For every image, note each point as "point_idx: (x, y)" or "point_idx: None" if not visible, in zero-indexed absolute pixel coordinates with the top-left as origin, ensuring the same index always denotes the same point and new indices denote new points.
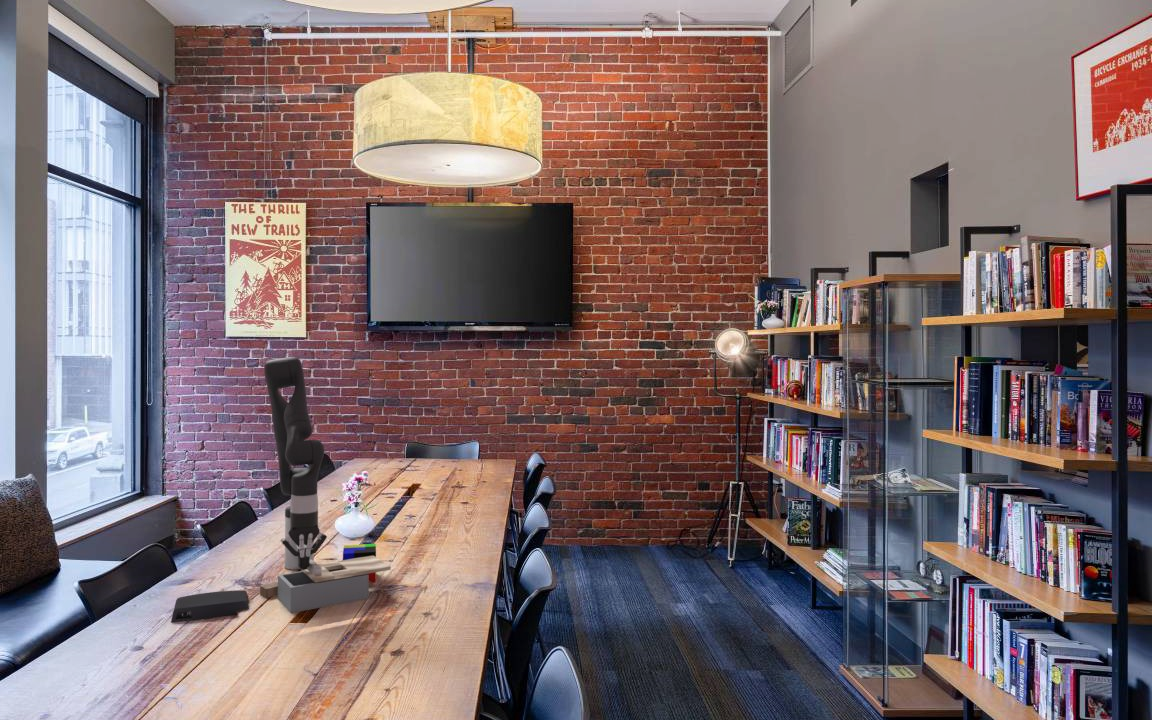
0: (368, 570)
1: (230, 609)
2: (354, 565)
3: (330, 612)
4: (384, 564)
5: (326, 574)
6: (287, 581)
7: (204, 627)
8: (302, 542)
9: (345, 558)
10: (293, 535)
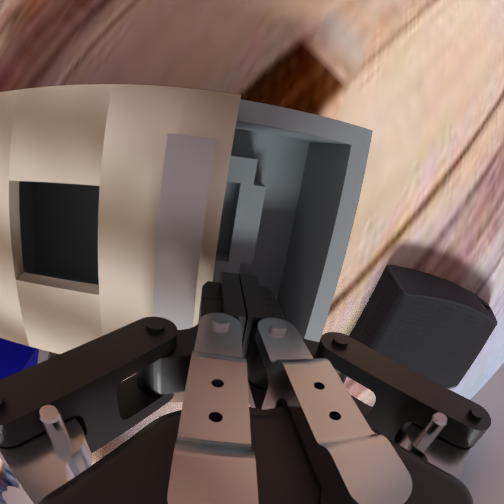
0: None
1: (432, 282)
2: None
3: (186, 73)
4: None
5: (137, 143)
6: (334, 247)
7: (483, 231)
8: (323, 415)
9: (6, 376)
10: (444, 489)
